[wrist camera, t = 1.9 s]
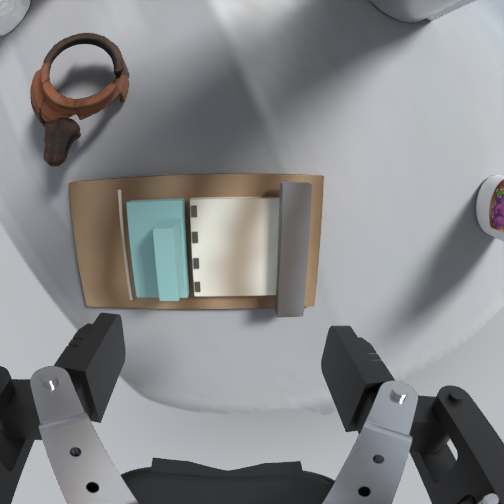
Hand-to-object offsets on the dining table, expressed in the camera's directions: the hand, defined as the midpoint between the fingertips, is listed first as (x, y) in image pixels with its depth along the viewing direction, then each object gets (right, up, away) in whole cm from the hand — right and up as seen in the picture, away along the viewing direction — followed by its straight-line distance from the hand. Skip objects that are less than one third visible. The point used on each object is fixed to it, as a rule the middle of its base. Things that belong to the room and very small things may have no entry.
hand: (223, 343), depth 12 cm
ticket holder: (-5, +4, +18) cm, 19 cm away
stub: (-7, +4, +17) cm, 19 cm away
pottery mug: (-15, +18, +13) cm, 27 cm away
